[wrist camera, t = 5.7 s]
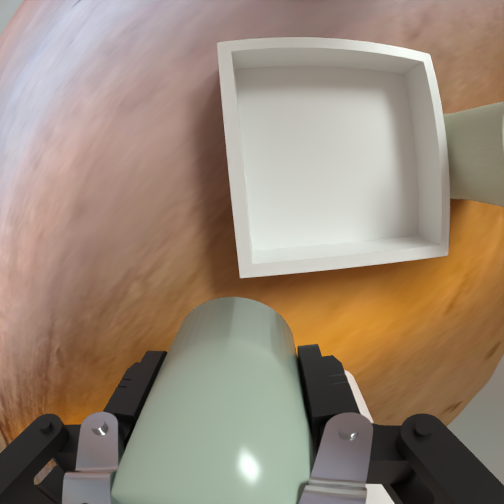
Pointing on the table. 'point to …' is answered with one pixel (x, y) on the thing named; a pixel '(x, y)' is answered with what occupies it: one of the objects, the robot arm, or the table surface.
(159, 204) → the table surface
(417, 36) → the table surface
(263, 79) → the grey tub
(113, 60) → the table surface
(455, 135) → the can
